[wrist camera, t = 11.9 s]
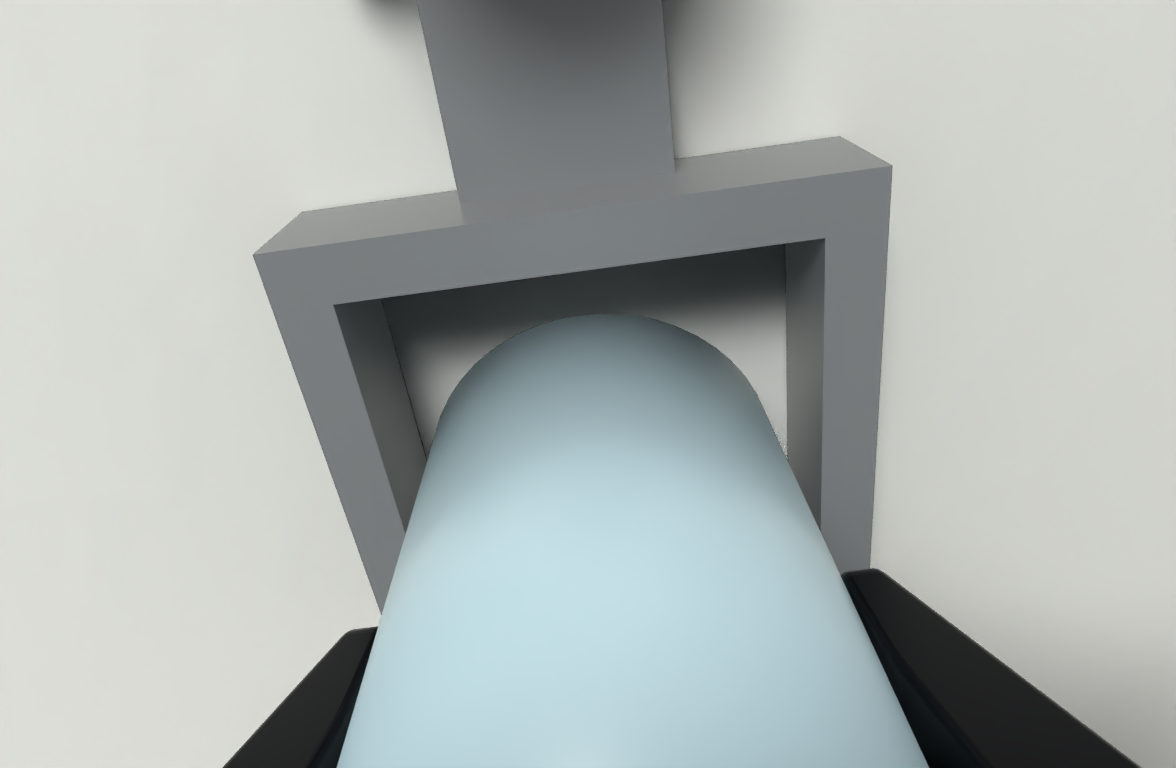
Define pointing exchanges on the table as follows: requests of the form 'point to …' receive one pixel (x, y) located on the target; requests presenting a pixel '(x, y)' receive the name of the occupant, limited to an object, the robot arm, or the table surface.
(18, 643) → the table surface
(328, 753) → the robot arm
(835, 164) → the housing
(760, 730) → the cylinder
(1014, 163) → the table surface
